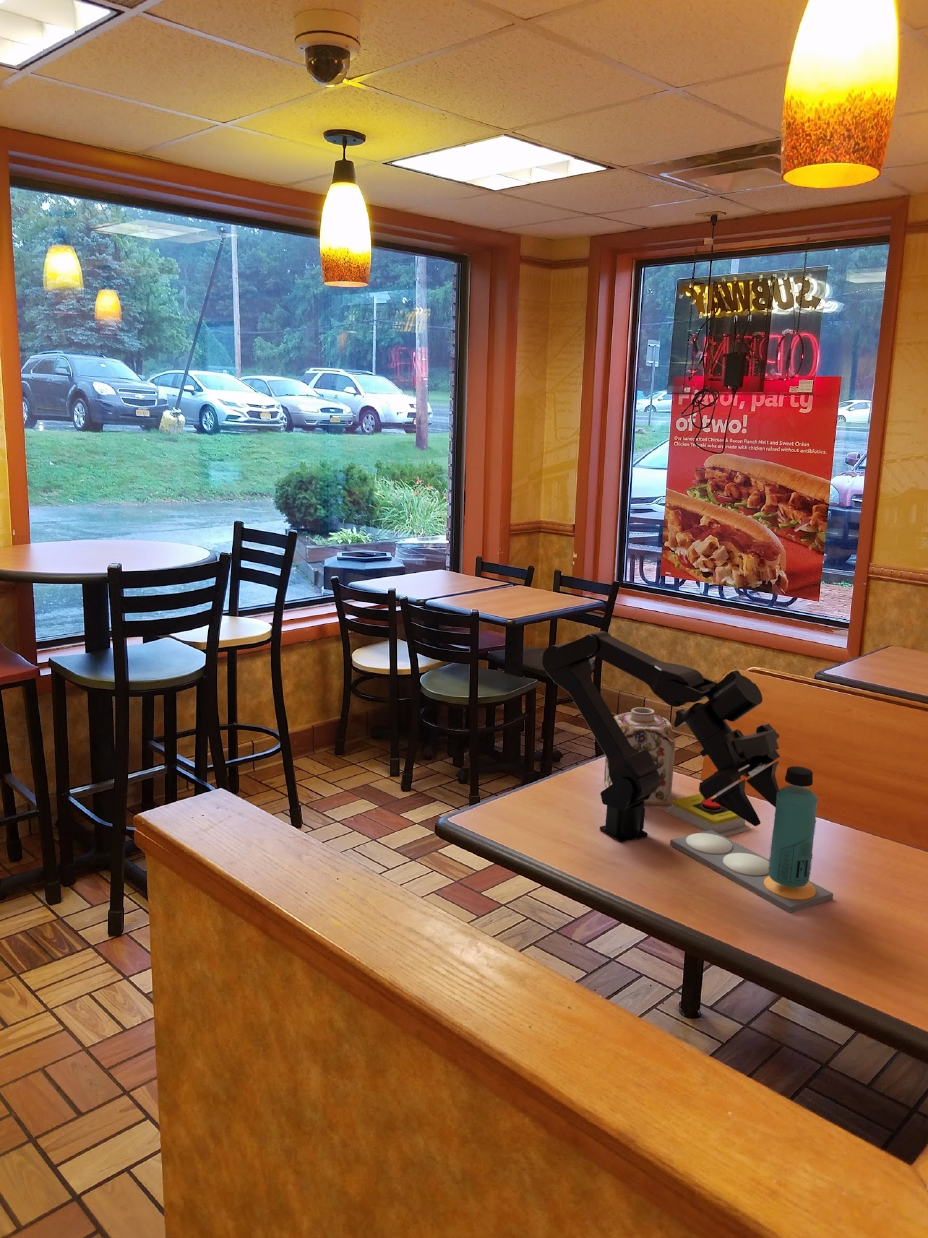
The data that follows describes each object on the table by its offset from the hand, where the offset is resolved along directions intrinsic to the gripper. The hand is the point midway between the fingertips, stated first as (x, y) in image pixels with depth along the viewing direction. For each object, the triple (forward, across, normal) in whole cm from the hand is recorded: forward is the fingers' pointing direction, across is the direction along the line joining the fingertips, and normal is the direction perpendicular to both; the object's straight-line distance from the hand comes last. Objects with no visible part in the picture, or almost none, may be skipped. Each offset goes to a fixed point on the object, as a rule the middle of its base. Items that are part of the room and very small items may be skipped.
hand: (770, 817), depth 153 cm
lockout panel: (+6, +3, +11) cm, 13 cm away
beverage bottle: (+10, 0, +4) cm, 11 cm away
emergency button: (-5, +18, +23) cm, 29 cm away
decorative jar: (-16, +19, +34) cm, 42 cm away
